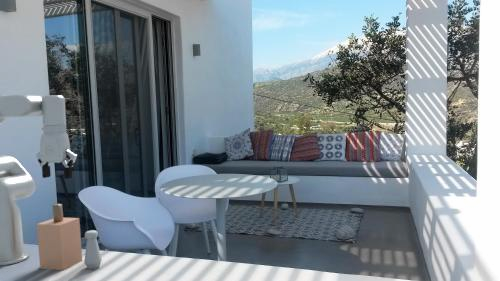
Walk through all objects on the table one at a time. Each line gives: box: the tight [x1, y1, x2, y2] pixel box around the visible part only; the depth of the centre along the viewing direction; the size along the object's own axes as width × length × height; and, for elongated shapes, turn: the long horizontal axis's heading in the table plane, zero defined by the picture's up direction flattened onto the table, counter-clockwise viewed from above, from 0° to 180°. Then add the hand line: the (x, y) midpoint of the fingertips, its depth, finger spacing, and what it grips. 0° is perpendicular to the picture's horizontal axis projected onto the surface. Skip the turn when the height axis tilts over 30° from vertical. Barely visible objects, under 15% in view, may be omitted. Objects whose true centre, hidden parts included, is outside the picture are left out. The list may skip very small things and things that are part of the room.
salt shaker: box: [83, 229, 103, 270], centre depth 155 cm, size 6×6×13 cm
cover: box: [36, 203, 83, 271], centre depth 159 cm, size 10×10×22 cm
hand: (57, 177), depth 157 cm, fingers open, 9 cm apart
